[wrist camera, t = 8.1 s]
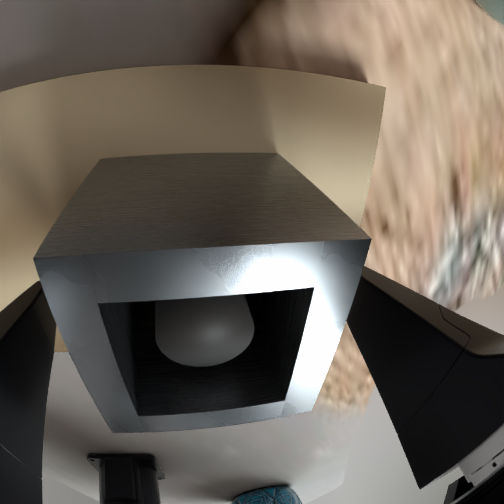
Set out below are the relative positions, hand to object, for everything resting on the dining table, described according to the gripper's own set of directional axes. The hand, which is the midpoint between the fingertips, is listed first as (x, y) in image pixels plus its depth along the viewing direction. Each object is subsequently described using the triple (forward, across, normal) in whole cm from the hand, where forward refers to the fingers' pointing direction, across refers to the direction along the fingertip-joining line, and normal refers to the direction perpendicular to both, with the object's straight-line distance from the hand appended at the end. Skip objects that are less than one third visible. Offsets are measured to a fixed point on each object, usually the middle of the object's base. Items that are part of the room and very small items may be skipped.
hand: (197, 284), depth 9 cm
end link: (+3, 0, 0) cm, 3 cm away
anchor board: (+4, +2, 0) cm, 5 cm away
